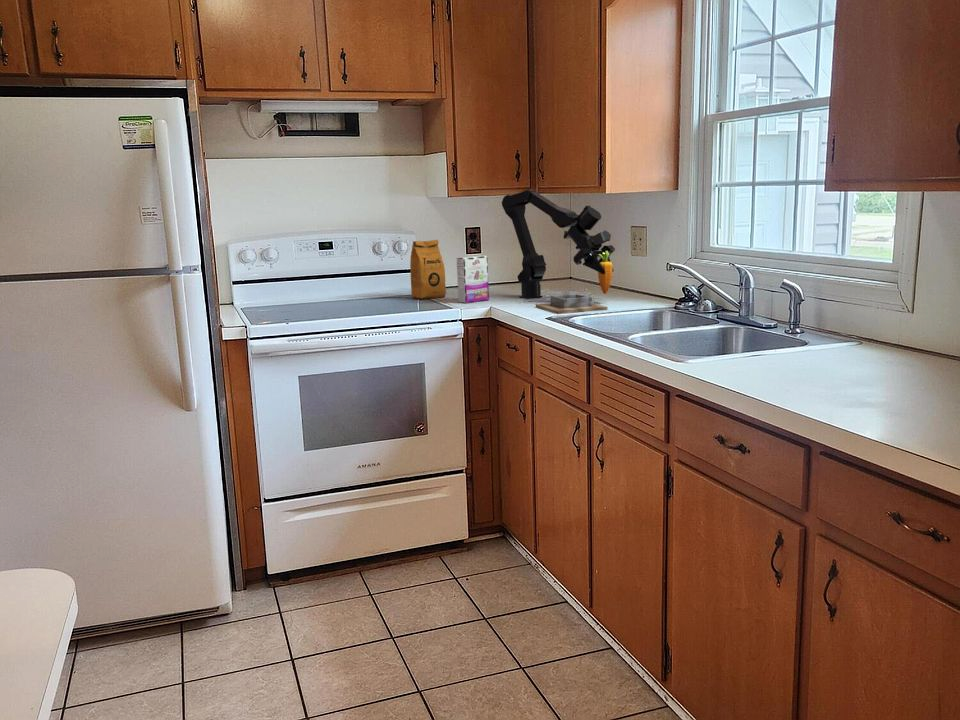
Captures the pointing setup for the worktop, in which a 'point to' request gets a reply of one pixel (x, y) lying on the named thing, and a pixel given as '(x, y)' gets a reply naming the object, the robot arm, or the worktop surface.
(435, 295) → the coffee package
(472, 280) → the candy bar box
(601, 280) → the carrot
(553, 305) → the socket base
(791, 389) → the worktop surface
